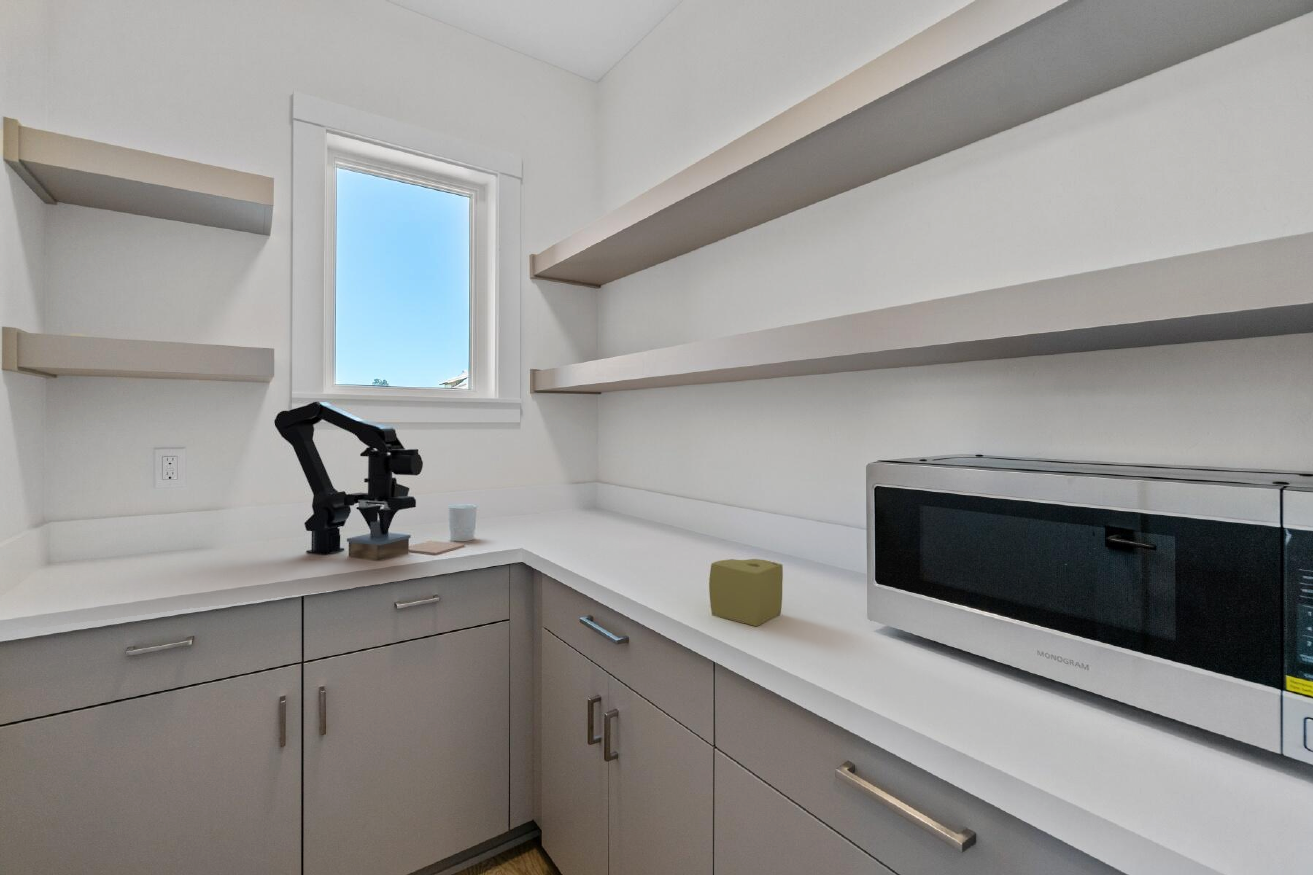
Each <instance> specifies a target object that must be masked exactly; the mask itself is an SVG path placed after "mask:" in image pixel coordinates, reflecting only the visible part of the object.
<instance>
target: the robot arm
mask: <svg viewBox="0 0 1313 875" xmlns="http://www.w3.org/2000/svg"><path fill="white" fill-rule="evenodd" d="M321 421H325V422H327V423H329V424H331V425H333V426H336V427H338V428H340V429H343V430H344V431H346V432H349V433H351V434H353V435H354V436H356V437H357V439H358V440H359V441H360V442H361V443H362V444H364V445H366V446H367V447H366V448H365V450H363V451H362V452H361V453H359V456H360V457H365V458H366V457H367V459H368V460H367V465H368V466H367V477H365V478H364V480H363V483H367V492H355V493H354V492H353V493H346V491H338V490H337V489H336V488H335V487H334V486H333V483H332V480H331V479H330V476H329V473H328V472H327V469H326V467H325V465H324V463H323V462H324V461H323V460H322V458H321V456H320V454H319V450H318V449H317V446H316V444H315V442H314V433H315V427H314V425H317V424H318V423H321ZM273 422H274V426H275V428H276V430H277V432H278V433H279V434H280V436H281V438H283V439H284V440H285V441H286V442H288V444H290V445H291V446H292V448H293V451H294V452H295V455H296V457H297V459H298V462H299V464H300V467H301V469H302V471H303V473H304V476H305V478H306V481H307V483H308V486H309V488H310V490H311V492H312V494H313V498H312V502H311V508H312V513H313V514H312V515H311V516H310V517H309V518H308V519H307V520H306V521H305V522H304V528H305V531H307V532H311V549H308V550H306V551H305V553H306V554H313V555H314V554H315V555H322V556H323V555H325V556H326V555H329V554H333V553H334V554H335V553H337V552H342V551H345V548H344V547H341V533H340V532H341V530H340V527H345V524H346V521H347V519H348V518H349V517H350V515H351V514H350V513H351V512H352V508H351V507H352V506H353V507H354V505H355V504H358V506H357V507H356V510H357V511H359V513H360V514H361V516H362V517H363V519H364V521H365V523H366V525H367V526H368V528H369V529H370V524H371V522H372V521H378V520H379V521H380V526H381V531H382V534H383V535H385V534H387V532H388V533H389V529H390V527H391V524H392V522H393V519H394V517H395V516H396V514H397V513H398V512H399V511H402V510H407V509H412V508H416V507H417V499H416V498H415V497H414V496H411V495H409V492H410V487H407V486H404V485H402V484H400V483H398V482H397V478H396V477H393V475H396V476H418V475H420V474H421V472H422V470H423V467H424V461H423V459H422V457H421V455H420V453H419V449H418V448H411V449H406V448H405V447H404V444H402V442H401V441H400V439H399V438H398V435H397V432H396V429H395V428H393V426H389V425H384V424H381V423H376V422H372V421H370V422H369V421H368V420H364V419H363V418H360V417H358V416H355V415H353V414H351V413H349V412H347V411H344V410H343V409H340V408H339V407H336V406H334V405H331V404H330V403H329V402H326V401H313V402H311V403H307V405H306V404H305V405H303V406H299V407H296V408H292V409H290V410H282V411H279V412H278V413H277V414H276V416H275V419H274V421H273ZM408 495H409V496H408ZM382 507H383V508H382Z"/></svg>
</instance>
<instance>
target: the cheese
mask: <svg viewBox="0 0 1313 875" xmlns="http://www.w3.org/2000/svg"><path fill="white" fill-rule="evenodd" d="M783 570H784V569H783V564H782V563H779V562H778V563H777V562H775V561H771V560H765V559H760V558H752V559H751V558H750V559H735V558H731V559H724V560H716V561H714V562H711V565H710V570H709V571H710V572H709V578H708V580H709V582H708V588H709V589H708V590H709V604H710V609H711V610H710V611H711V616H714V617H718V618H720V619H721V618H723V619H726V620H729V621H733V622H738V623H743V624H745V623H746V625H748V626H749V625H751V626H752V627H753V626H754V627H758V626H760V625H763V624H764V623H766V622H768V621H769V620H770V621H771V618H772V619H774V618H775V616H776V617H778V616H780V615H781V614H782V604H783V581H784V578H783V577H784V574H783V573H784V572H783ZM777 615H778V616H777ZM762 623H763V624H762Z"/></svg>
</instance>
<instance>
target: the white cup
mask: <svg viewBox="0 0 1313 875" xmlns="http://www.w3.org/2000/svg"><path fill="white" fill-rule="evenodd" d="M477 507H478V506H477V505H475V504H469V503H468V504H466V503H465V504H450V505H449V506H448V516H449V517H448V520H449V522H448V523H449V535H450V536H449V537H450V538H449V539H450V541H452V542H469V541H473V540H474V539H475V530H476V522H477Z"/></svg>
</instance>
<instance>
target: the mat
mask: <svg viewBox="0 0 1313 875" xmlns="http://www.w3.org/2000/svg"><path fill="white" fill-rule="evenodd" d="M464 547H466V544H464V543H458V542H457V543H454V542H447V541H446V542H445V541H438V540H428V541H424V542H420V543H416V544H411V545H409V553H412V554H413V553H414V554H425V555H432V556H438V555H441V554H443V553H447V552H448V553H449V552H452V551H454V550H457V549H461V548H464Z"/></svg>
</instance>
